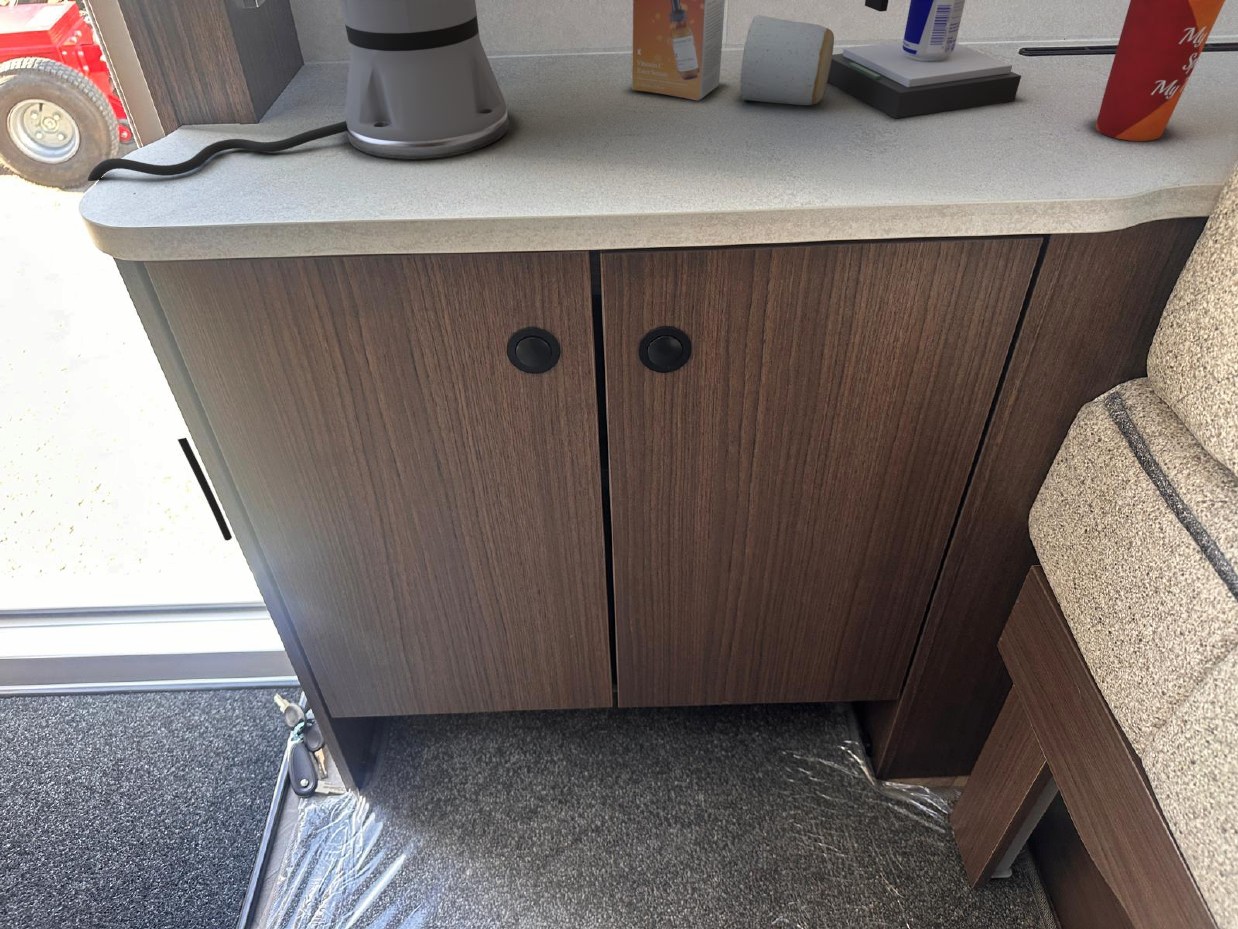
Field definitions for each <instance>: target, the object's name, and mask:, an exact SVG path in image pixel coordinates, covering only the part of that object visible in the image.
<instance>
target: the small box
mask: <svg viewBox="0 0 1238 929" xmlns="http://www.w3.org/2000/svg"><path fill="white" fill-rule="evenodd" d="M725 4H726V0H632V57H631V58H632V59H631V60H632V62H631V65H632V68H631V69H632V70H631V72H632V77H631V78H632V80H631V81H632V82H631V87H632V89H631V90H632V91H639V92H640V91H641V92H648V93H653V94H659V95H667V96H671V97H677V98H683V99H687V100H692V101H701V100H702V99H703V98H704V97H705V96H707V95H708V94H709V93H711V92H713V91H714V90H715V89H716V88H718V87H719V86H720V80H721V78H720V77H721V65H722V64H721V63H722V51H723V50H722V49H723V33H724V20H725V6H726V5H725Z"/></svg>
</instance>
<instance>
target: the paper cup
mask: <svg viewBox="0 0 1238 929" xmlns="http://www.w3.org/2000/svg"><path fill="white" fill-rule="evenodd" d="M1225 2H1226V0H1130V1H1129V4H1128V8H1127V11H1126V15H1125V19H1124V21H1123V25H1122V29H1121V33H1120V36H1119V40H1118V44H1117V45H1116V46H1117V47H1116V50H1115V54H1114V57H1113V61H1112V65H1111V68H1110V72H1109V75H1108V79H1107V82H1106V86H1105V90H1104V93H1103V97H1102V99H1101V100H1102V101H1101V105H1100V108H1099V111H1098V116H1097V119H1096V124H1095V129H1096V131H1098V132H1099V133H1101V134H1103V135H1104V136H1107V137H1111V138H1114V139H1119V140H1124V141H1131V142H1133V141H1134V142H1149V141H1155V140H1158V139H1159V138H1161V137H1162V135H1163V133H1164V132H1165V130H1166V128H1167V125H1168V124H1169V122H1170V120H1171V118H1172V116H1173V114H1174V111H1175V109H1176V107H1177V106H1178V103H1179V101H1180V99H1181V97H1182V94H1183V92H1184V90H1185V88H1186V86H1187V83H1188V82H1189V80H1190V77H1191V75H1192V73H1193V70H1194V69H1195V66H1196V65H1197V62H1198V60H1199V58H1200V55H1201V54H1202V52H1203V50H1204V47H1205V45H1206V42H1207V41H1208V39H1209V36H1210V34H1211V32H1212V30H1213V28H1214V26H1215V23H1216V21H1217V19H1218V17H1219V15H1220V12H1221V11H1222V8H1223V6H1224V4H1225Z"/></svg>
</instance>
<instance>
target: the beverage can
mask: <svg viewBox="0 0 1238 929" xmlns="http://www.w3.org/2000/svg"><path fill="white" fill-rule="evenodd" d="M909 3H910V4H909V7H908V12H907V13H908V14H907V19H906V24H905V29H904V35H903V40H902V41H903V50H904V51H905V52H906V53H907V56H908V57H909V58H911V59H914V60H919V61H940V60H943V59H945V58H946V56H947V55H949V54H951V53H952V52H953V50H954V47H955V44H956V43H957V38H958V35H959V29H960V25H961V21H962V16H963V11H964V8H965V3H966V0H910V2H909Z"/></svg>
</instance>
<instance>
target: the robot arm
mask: <svg viewBox="0 0 1238 929" xmlns="http://www.w3.org/2000/svg"><path fill="white" fill-rule="evenodd" d="M339 3H340V8H341V13H342V17H343V22H344V26H345V31H346V36H347V41H348V47H349V63H348V76H347V87H346V97H345V98H346V100H345V111H344V119H345V121H344V120H343V121H341V122H337V123H333V124H329V125H325V126H322V127H318V128H315V129H310V130H308V131H305V132H301V133H298V134H296V135H294V136H290V137H287V138H284V139H280V140H275V141H268V142H267V141H256V140H251V139H243V138H229V139H223V140H218V141H216V142H213V143H210V144H209V145H206V146H204V147H203V148H202V149H201V150H200V151H199V152H197V154H195V155H194V156H193V157H191V158H190V159H188V160H185V161H182V162H180V163H175V164H163V165H161V164H153V163H146V162H142V161H137V160H133V159H127V158H118V157H117V158H116V157H115V158H107V159H105V160H103V161H101V162H99V163H98V164H97V165H96V166H95V167H94V168H93V169H92V170H91V171H90V173H89V175H88V177H87V181H88V182H96V181H99V180H101V179H102V178H103V177H104V175H106V174H107V173H108V172H110V171H112V170H130V171H134V172H137V173H142V174H148V175H152V176H153V175H154V176H163V177H164V176H165V177H166V176H176V175H182V174H185V173H189V172H191V171H194V170H196V169H197V168H199V167H201V166H202V165H204V164H205V163H206V162H207V161H208V160H209V159H210V158H211V157H213V156H214V155H216V154H218V153H220V152H224V151H227V150H234V149H238V150H239V149H241V150H247V151H253V152H260V153H274V152H275V153H276V152H282V151H286V150H289V149H293V148H295V147H298V146H301V145H303V144H307V143H309V142H313V141H317V140H320V139H323V138H328V137H330V136H334V135H338V134H342V133H345V132H347V136H348V141H349V142H350V144H351V145H352V146H353V147H354V148H356V149H357V150H359V151H361V152H363V153H366V154H369V155H373V156H378V157H383V158H390V159H402V160H403V159H405V160H410V159H411V160H415V159H417V160H419V159H433V158H444V157H449V156H454V155H460V154H464V153H468V152H471V151H476V150H478V149H481V148H483V147H486V146H488V145H490V144H492V143H494V142H496V141H498V140H499V139H501V137H503V136H504V135H505V134H506V133H507V132H508V129H509V127H510V126H509V125H510V123H509V114H508V106H507V103H506V99H505V97H504V95H503V92H502V90H501V87H500V85H499V83H498V81H497V78H496V75H495V73H494V71H493V68H492V66H491V64H490V61H489V59H488V57H487V54H486V51H485V49H484V46H483V44H482V41H481V37H480V36H481V35H480V29H479V21H478V11H477V3H476V0H339ZM888 5H889V0H864V6H865V7H867V8H870V9H872V10H875V11H877V12H879V13H881V12H887V11H888V7H889V6H888ZM176 440H177V442H178V444H179V446H180V447H181V450H182V452H183V454H184V456H185V458H186V460H187V462H188V465H189V466H190V469H191V470H192V472H193V474H194V476H195V478H196V480H197V482H198V484H199V486H200V489H201V491H202V493H203V495H204V497H205V500H206V502H207V504H208V506H209V507H210V508H209V509H210V511H211V513H212V514H213V517H214V519H215V521H216V523H217V526H218V528H219V530H220V532H221V534H222V537H223V539H224V541H227V542H228V541H231V540H232V538H233V536H232V533H231V531H230V529H229V527H228V524H227V522H226V519H225V517H224V515H223V513H222V511H221V507H220V506H219V504H218V502H217V500H216V497H215V495H214V492H213V491H212V488H211V486H210V484H209V482H208V479H207V478H206V475H205V474H204V472H203V470H202V467H201V465H200V463H199V461H198V459H197V457H196V455H195V452H194V451H193V449H192V447H191V444H190V443H189V441H188V438H187V437H182V438H177V439H176Z"/></svg>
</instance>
